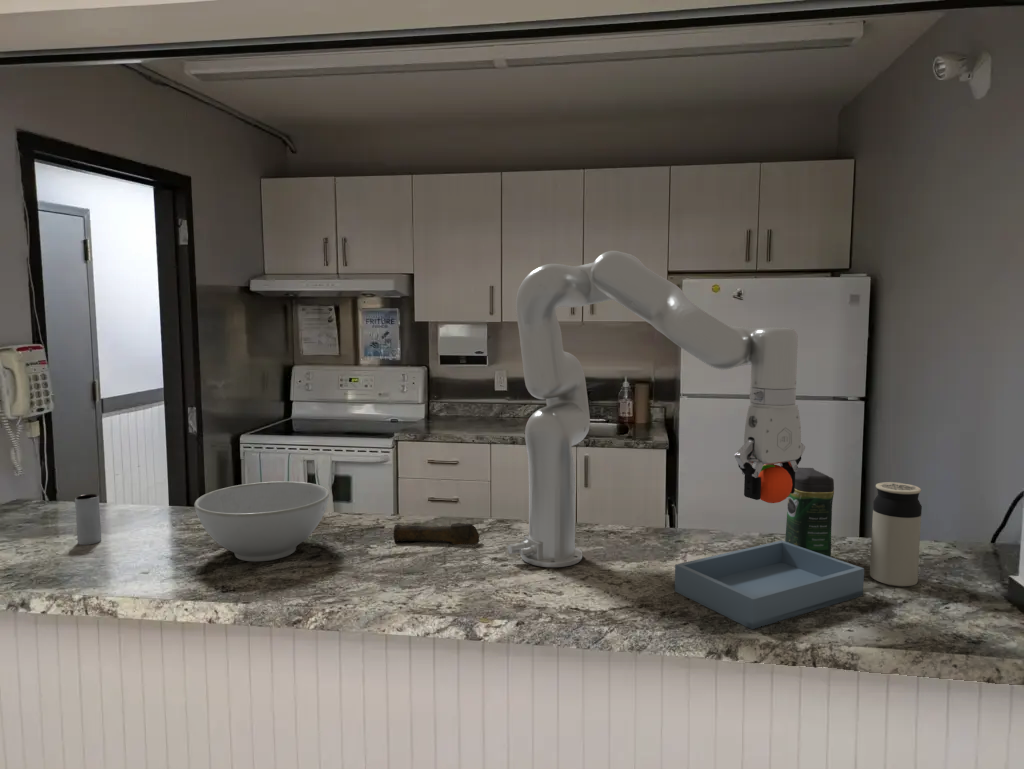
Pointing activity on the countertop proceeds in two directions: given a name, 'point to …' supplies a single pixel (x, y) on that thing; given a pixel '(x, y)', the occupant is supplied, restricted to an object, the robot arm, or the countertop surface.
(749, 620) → the bin
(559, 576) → the countertop surface
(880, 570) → the travel mug
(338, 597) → the countertop surface
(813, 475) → the coffee jar
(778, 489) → the clementine
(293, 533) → the decorative bowl
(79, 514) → the gray cylinder
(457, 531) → the hand tool
